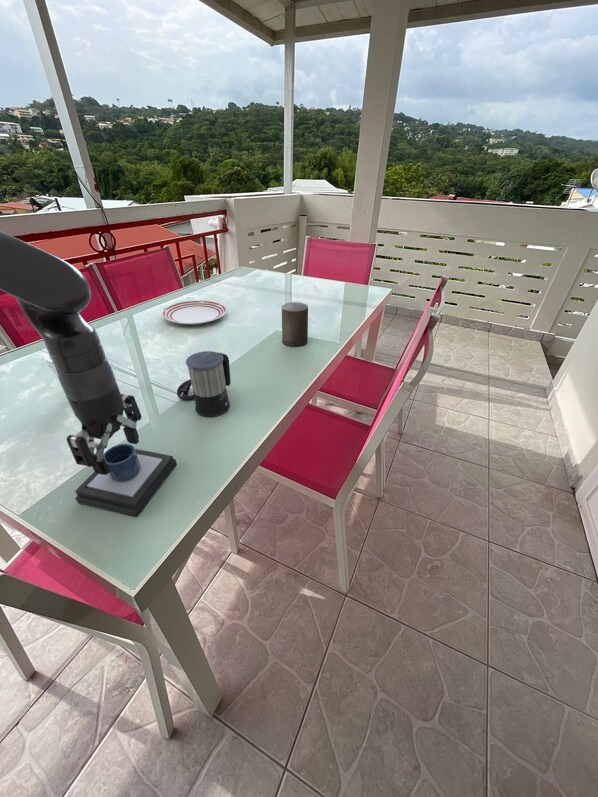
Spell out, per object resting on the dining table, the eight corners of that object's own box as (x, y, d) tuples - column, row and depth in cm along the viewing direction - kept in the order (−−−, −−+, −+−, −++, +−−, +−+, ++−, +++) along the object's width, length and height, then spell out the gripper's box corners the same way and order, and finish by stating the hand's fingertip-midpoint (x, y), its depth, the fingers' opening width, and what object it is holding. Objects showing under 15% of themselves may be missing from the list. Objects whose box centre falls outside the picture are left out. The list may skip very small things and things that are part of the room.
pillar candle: (308, 347, 121) (309, 307, 113) (282, 347, 121) (281, 307, 112) (306, 336, 129) (307, 298, 121) (281, 336, 129) (280, 298, 120)
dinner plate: (238, 310, 152) (237, 303, 150) (207, 333, 130) (206, 325, 128) (186, 303, 159) (185, 297, 157) (149, 324, 137) (147, 316, 135)
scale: (137, 517, 61) (132, 507, 60) (78, 503, 64) (72, 493, 62) (177, 464, 72) (174, 454, 71) (125, 453, 75) (121, 444, 73)
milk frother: (226, 418, 86) (219, 368, 78) (166, 417, 86) (152, 367, 78) (235, 388, 98) (230, 342, 89) (182, 387, 98) (172, 341, 89)
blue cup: (129, 485, 63) (121, 467, 61) (103, 479, 64) (95, 461, 62) (147, 464, 68) (140, 446, 65) (123, 459, 69) (115, 441, 66)
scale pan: (134, 500, 62) (132, 496, 61) (89, 490, 64) (86, 485, 63) (164, 463, 70) (162, 458, 69) (123, 455, 72) (121, 450, 71)
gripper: (102, 363, 61) (127, 431, 70) (34, 407, 50) (74, 480, 59) (138, 369, 60) (158, 436, 69) (76, 414, 48) (110, 489, 57)
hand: (119, 457), depth 64 cm, fingers open, 8 cm apart
